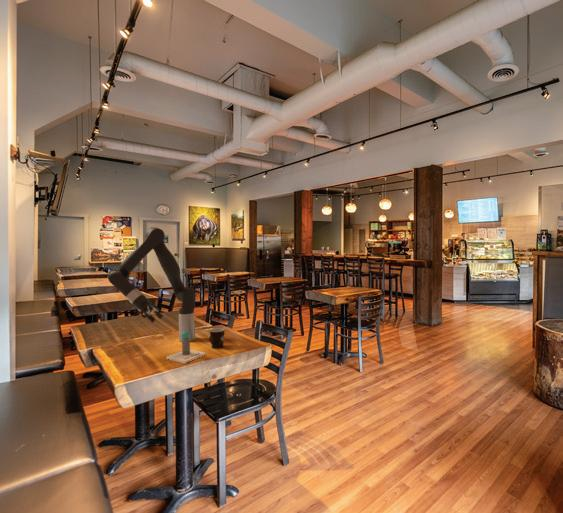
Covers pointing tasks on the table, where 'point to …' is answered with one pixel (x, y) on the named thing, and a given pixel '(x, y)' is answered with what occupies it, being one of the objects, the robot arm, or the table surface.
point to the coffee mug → (217, 338)
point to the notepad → (185, 356)
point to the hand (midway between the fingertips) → (158, 319)
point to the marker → (185, 342)
